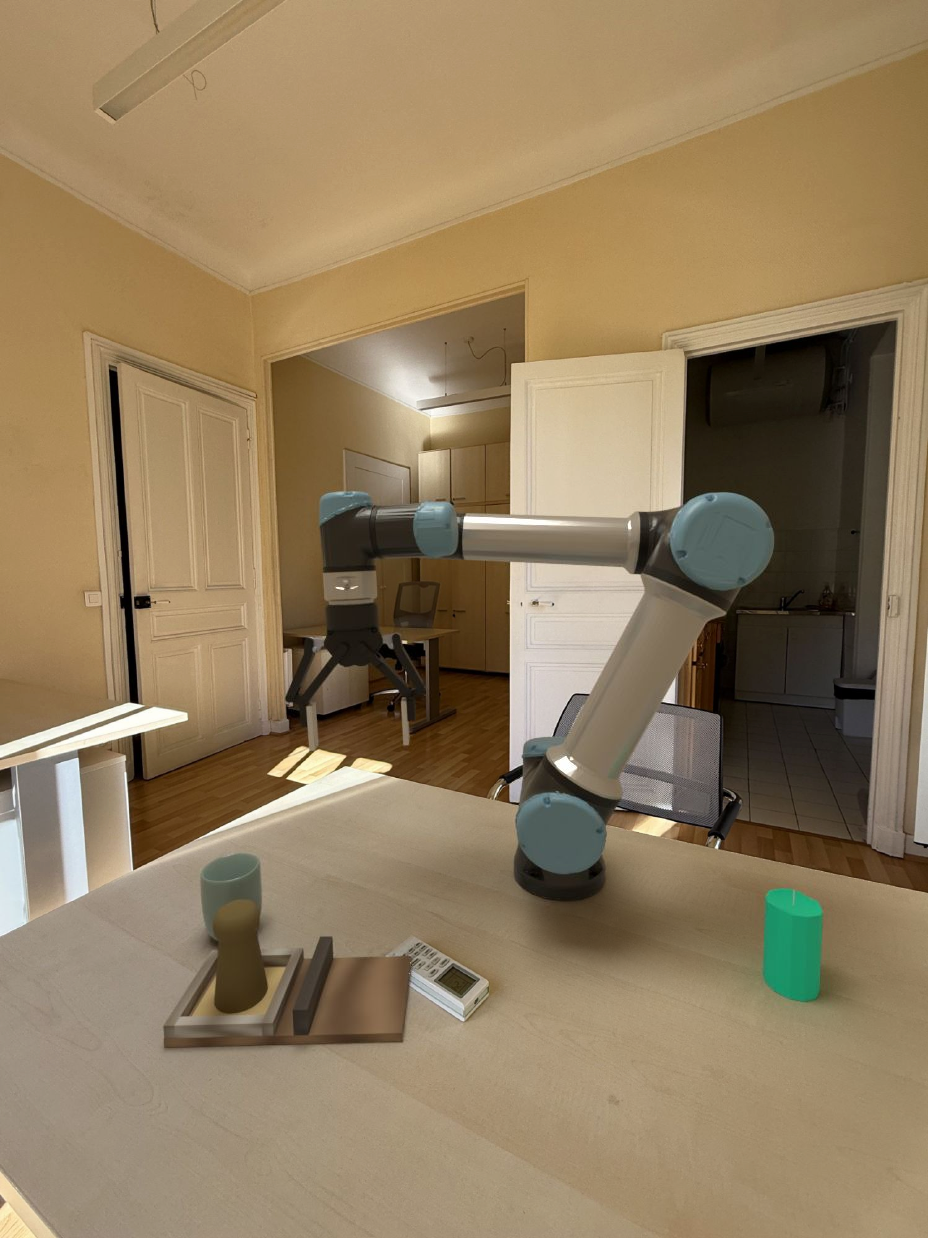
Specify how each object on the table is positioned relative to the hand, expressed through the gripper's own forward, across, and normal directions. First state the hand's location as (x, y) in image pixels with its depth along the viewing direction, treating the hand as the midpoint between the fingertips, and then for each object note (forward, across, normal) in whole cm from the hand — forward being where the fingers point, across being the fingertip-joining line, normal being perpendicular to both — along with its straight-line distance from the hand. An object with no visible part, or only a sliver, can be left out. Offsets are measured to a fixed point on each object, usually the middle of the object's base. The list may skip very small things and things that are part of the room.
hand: (360, 745), depth 81 cm
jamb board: (+26, -6, -17) cm, 32 cm away
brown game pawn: (+24, -13, -17) cm, 33 cm away
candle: (+27, +54, -19) cm, 63 cm away
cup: (+26, -19, -4) cm, 32 cm away
